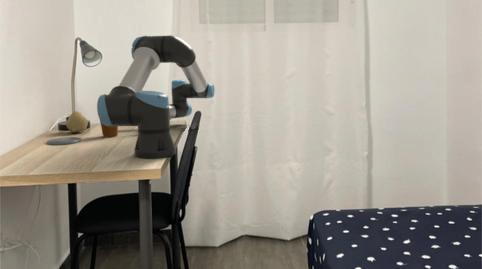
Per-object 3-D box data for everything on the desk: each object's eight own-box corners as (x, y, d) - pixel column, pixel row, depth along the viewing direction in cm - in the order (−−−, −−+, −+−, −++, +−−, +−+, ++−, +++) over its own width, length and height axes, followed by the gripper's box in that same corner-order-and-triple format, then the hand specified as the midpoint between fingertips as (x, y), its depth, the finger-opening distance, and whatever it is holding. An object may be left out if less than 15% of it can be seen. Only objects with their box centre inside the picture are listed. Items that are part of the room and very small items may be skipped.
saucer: (68, 145, 195) (68, 143, 195) (39, 144, 199) (39, 142, 198) (87, 139, 208) (87, 137, 208) (60, 138, 212) (60, 136, 212)
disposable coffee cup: (125, 135, 216) (123, 109, 214) (106, 138, 209) (104, 112, 207) (113, 133, 222) (111, 108, 220) (95, 136, 215) (93, 110, 213)
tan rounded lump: (84, 129, 235) (82, 108, 233) (90, 133, 225) (89, 111, 223) (63, 132, 230) (62, 110, 228) (69, 135, 220) (67, 112, 218)
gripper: (180, 121, 228) (143, 127, 213) (150, 117, 245) (114, 122, 230) (179, 106, 226) (142, 111, 212) (149, 103, 244) (113, 107, 229)
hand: (127, 117), depth 221 cm, fingers open, 13 cm apart
